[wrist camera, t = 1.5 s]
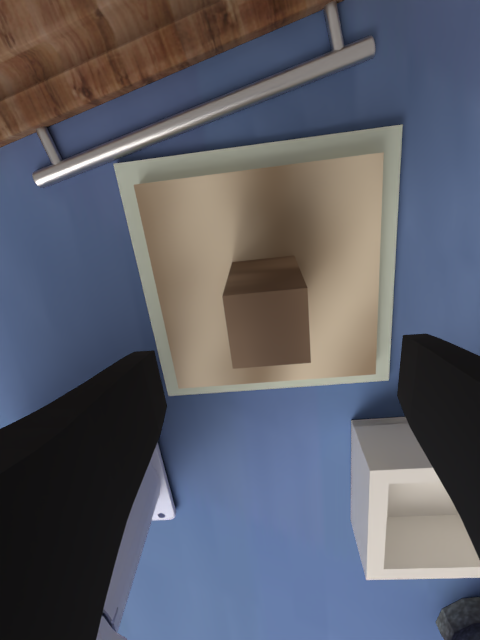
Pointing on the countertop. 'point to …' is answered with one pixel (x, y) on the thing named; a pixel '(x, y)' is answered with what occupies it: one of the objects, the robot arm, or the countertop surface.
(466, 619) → the mortar and pestle
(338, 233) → the birch lid
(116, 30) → the chopping board
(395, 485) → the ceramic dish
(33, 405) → the countertop surface
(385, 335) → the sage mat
